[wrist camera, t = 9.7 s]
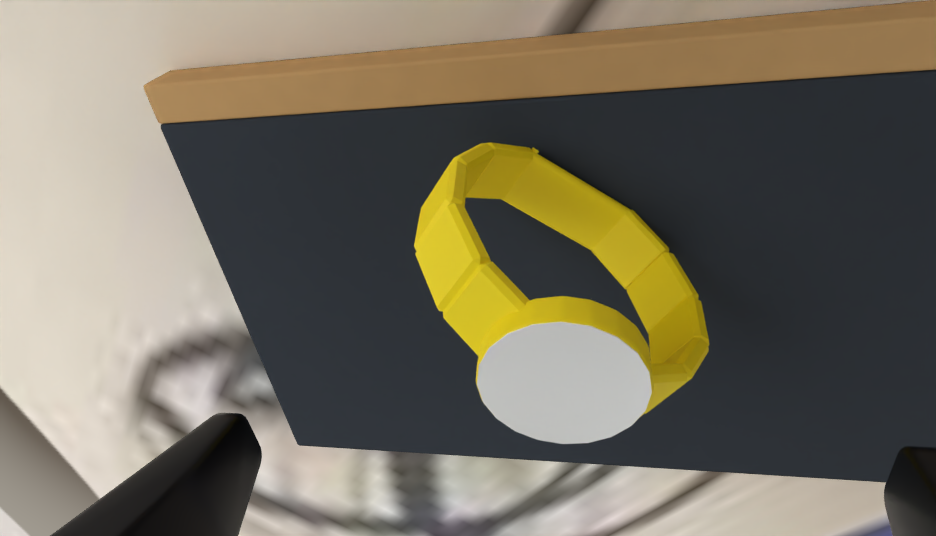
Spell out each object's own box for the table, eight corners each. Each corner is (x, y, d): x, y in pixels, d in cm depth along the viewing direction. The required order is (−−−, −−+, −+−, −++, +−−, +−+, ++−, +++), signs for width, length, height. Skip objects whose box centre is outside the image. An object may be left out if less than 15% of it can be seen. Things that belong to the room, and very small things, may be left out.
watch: (433, 177, 15) (348, 344, 10) (493, 80, 13) (428, 224, 8) (635, 302, 16) (646, 508, 11) (714, 226, 14) (770, 430, 9)
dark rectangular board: (1125, -19, 11) (1174, -5, 10) (925, 452, 18) (943, 487, 17) (169, 69, 16) (140, 85, 15) (310, 420, 23) (297, 446, 22)
